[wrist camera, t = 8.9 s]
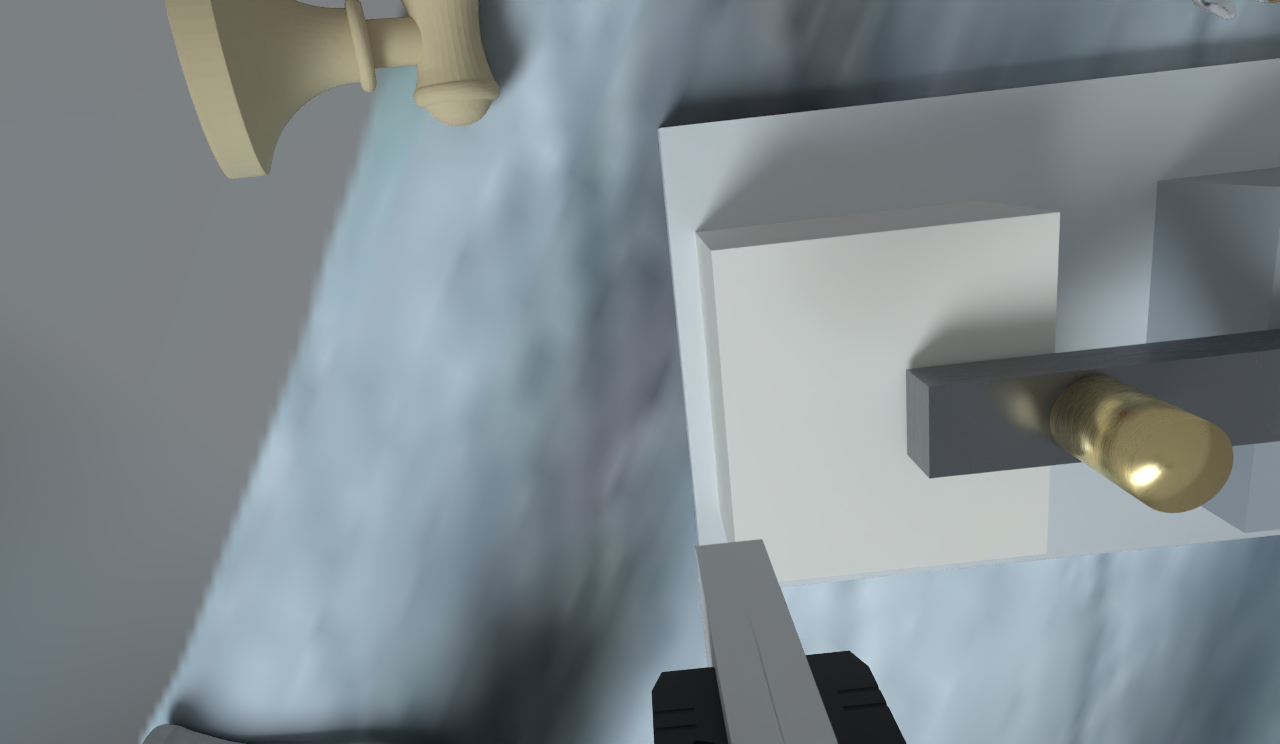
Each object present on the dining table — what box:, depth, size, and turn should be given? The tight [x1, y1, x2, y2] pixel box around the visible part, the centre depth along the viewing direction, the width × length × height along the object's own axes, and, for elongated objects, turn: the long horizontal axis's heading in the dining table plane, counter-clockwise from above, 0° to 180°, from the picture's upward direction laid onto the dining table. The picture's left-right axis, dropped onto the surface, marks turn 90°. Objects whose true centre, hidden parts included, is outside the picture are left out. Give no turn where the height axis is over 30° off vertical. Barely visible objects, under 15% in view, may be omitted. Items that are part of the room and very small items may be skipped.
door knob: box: [165, 0, 500, 179], centre depth 27 cm, size 10×8×8 cm
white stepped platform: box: [658, 58, 1280, 587], centre depth 27 cm, size 20×30×12 cm, turn 96°
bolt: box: [906, 329, 1280, 513], centre depth 23 cm, size 3×12×6 cm, turn 96°
